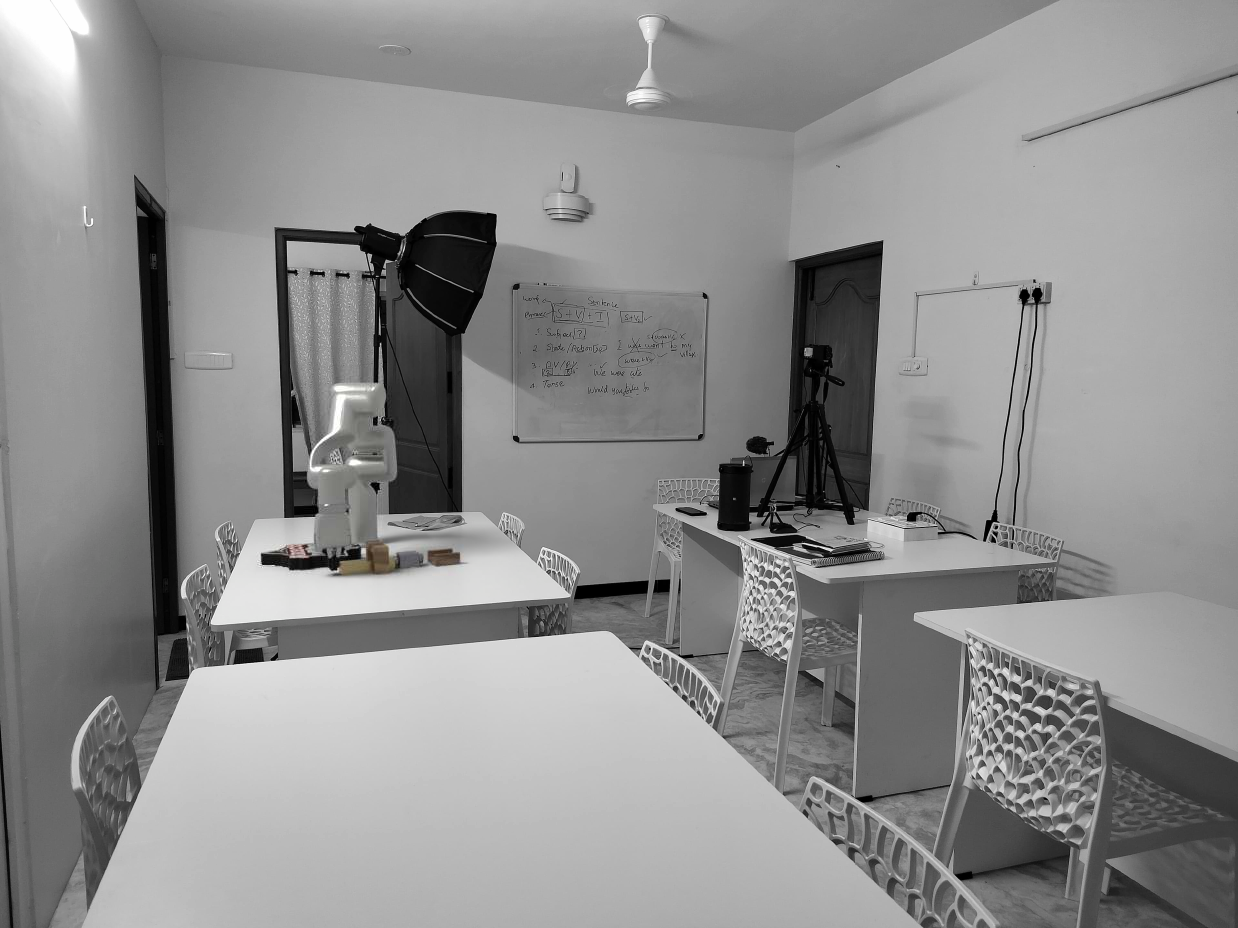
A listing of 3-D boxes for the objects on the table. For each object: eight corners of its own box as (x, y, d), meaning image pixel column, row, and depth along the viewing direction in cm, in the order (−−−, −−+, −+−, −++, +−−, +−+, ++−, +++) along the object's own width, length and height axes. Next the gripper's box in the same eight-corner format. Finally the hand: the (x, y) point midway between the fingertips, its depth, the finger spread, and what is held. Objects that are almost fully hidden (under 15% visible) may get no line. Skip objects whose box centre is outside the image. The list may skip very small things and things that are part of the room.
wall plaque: (366, 554, 253) (261, 562, 241) (367, 567, 254) (262, 576, 241) (355, 538, 279) (259, 545, 266) (355, 550, 279) (260, 557, 266)
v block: (427, 561, 261) (427, 550, 261) (451, 558, 265) (451, 548, 265) (435, 566, 254) (435, 555, 254) (460, 563, 258) (460, 552, 258)
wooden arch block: (366, 566, 253) (365, 541, 252) (379, 565, 255) (378, 540, 254) (375, 574, 243) (375, 548, 242) (389, 572, 245) (388, 546, 244)
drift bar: (341, 575, 242) (341, 563, 242) (339, 572, 245) (338, 561, 244) (395, 569, 250) (395, 558, 250) (392, 567, 253) (392, 556, 252)
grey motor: (395, 569, 250) (395, 555, 249) (391, 566, 254) (391, 552, 253) (424, 566, 254) (424, 552, 254) (420, 563, 258) (419, 550, 258)
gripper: (355, 505, 247) (356, 565, 249) (303, 509, 240) (304, 570, 242) (360, 509, 241) (362, 569, 243) (307, 512, 233) (309, 575, 235)
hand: (333, 569), depth 242 cm, fingers closed
